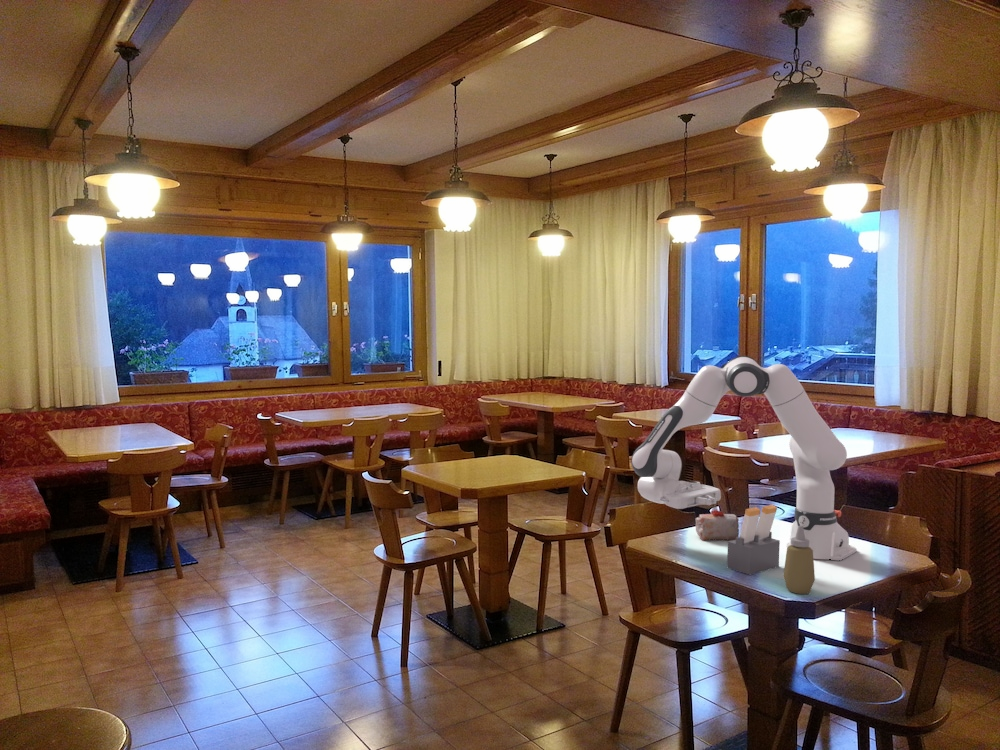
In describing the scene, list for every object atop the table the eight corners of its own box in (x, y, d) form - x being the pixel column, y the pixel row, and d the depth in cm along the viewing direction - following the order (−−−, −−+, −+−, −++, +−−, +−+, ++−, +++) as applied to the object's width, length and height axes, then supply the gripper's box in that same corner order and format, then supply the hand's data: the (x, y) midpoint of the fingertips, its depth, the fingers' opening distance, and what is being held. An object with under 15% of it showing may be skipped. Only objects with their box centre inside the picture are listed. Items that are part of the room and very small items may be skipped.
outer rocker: (748, 537, 229) (755, 507, 227) (753, 540, 228) (760, 509, 225) (738, 540, 226) (745, 509, 224) (743, 542, 225) (750, 511, 223)
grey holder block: (756, 559, 237) (757, 528, 236) (778, 566, 230) (779, 533, 230) (727, 567, 229) (727, 534, 228) (749, 574, 222) (750, 541, 222)
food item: (699, 541, 257) (700, 512, 256) (694, 535, 265) (694, 507, 264) (740, 542, 256) (741, 513, 256) (733, 535, 264) (734, 507, 264)
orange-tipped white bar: (763, 533, 233) (772, 504, 230) (768, 536, 232) (777, 507, 229) (754, 536, 230) (762, 506, 228) (759, 539, 229) (767, 509, 226)
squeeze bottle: (819, 590, 209) (821, 526, 208) (807, 598, 204) (809, 531, 202) (789, 583, 215) (791, 520, 214) (778, 590, 209) (780, 526, 208)
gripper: (656, 489, 242) (690, 496, 231) (699, 480, 254) (734, 487, 242) (656, 508, 242) (690, 517, 231) (699, 499, 254) (734, 507, 243)
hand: (713, 502), depth 237 cm, fingers closed
